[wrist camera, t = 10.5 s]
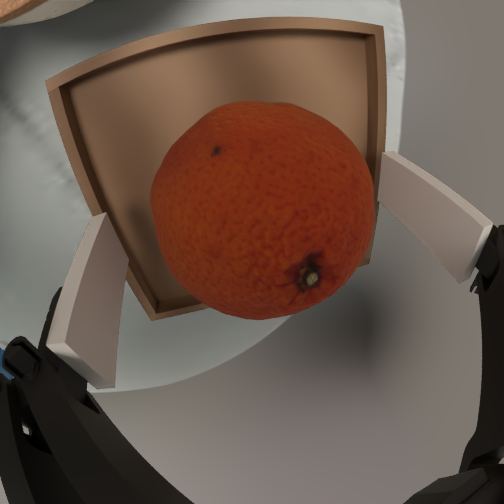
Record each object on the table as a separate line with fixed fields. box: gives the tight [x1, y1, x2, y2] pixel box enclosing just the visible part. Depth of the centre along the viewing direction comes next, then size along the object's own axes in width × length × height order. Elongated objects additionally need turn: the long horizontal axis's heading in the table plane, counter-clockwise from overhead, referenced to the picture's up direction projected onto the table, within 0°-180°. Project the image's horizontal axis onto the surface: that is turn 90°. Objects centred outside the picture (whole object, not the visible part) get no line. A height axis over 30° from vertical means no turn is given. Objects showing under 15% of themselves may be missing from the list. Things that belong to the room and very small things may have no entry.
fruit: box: [150, 101, 375, 320], centre depth 11 cm, size 9×9×8 cm
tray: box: [45, 17, 387, 321], centre depth 16 cm, size 16×16×7 cm
